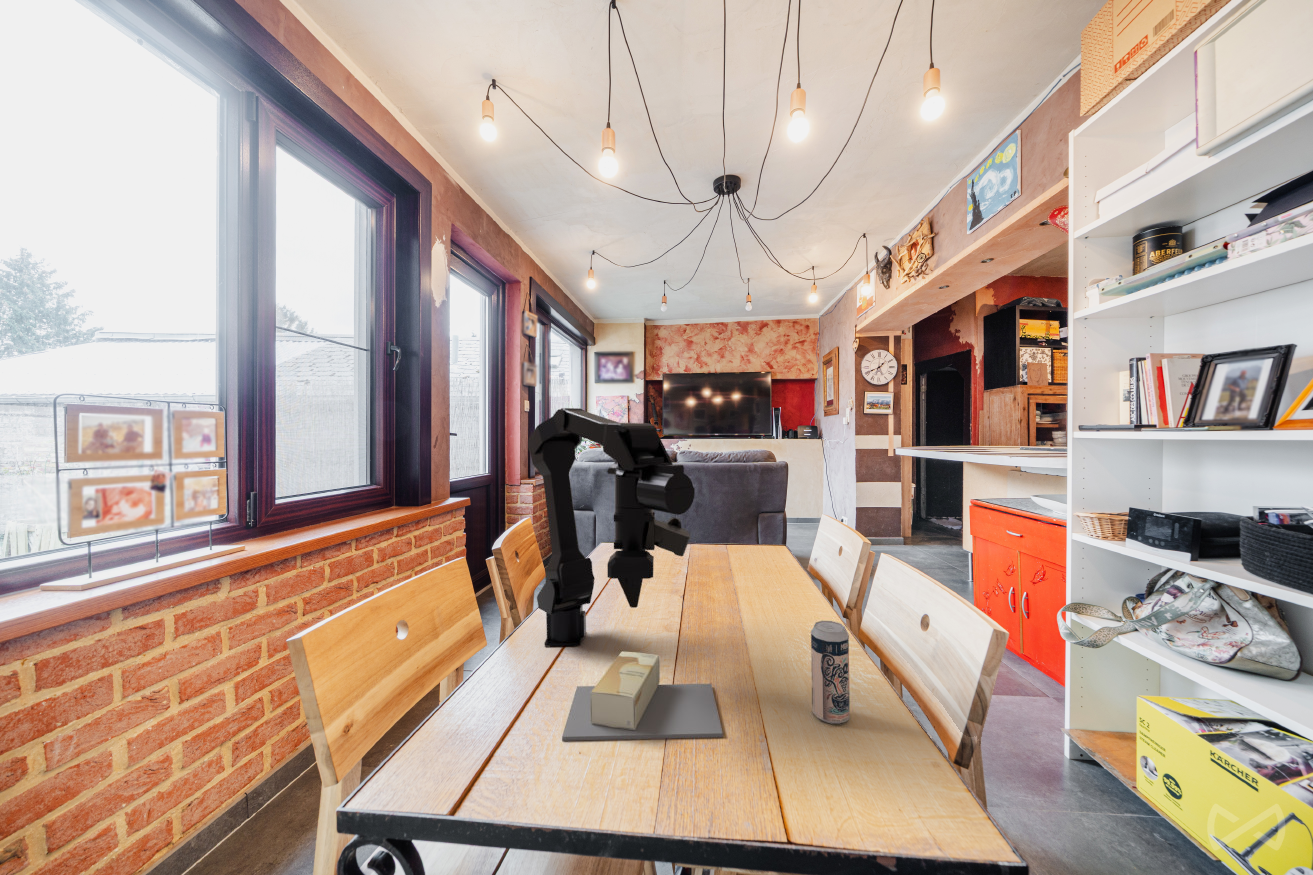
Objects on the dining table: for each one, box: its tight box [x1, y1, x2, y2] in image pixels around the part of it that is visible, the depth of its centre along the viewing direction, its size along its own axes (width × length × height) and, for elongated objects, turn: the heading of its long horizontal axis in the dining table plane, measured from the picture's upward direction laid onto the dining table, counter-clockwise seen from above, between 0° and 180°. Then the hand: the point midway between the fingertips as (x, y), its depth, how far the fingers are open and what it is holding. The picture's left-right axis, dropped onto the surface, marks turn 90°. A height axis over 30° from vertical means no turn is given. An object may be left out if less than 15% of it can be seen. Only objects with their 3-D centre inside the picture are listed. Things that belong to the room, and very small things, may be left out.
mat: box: [561, 683, 724, 742], centre depth 66 cm, size 20×12×1 cm, turn 91°
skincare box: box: [590, 651, 661, 730], centre depth 67 cm, size 6×4×12 cm
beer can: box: [810, 620, 851, 725], centre depth 64 cm, size 5×5×12 cm
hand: (633, 606), depth 74 cm, fingers closed
